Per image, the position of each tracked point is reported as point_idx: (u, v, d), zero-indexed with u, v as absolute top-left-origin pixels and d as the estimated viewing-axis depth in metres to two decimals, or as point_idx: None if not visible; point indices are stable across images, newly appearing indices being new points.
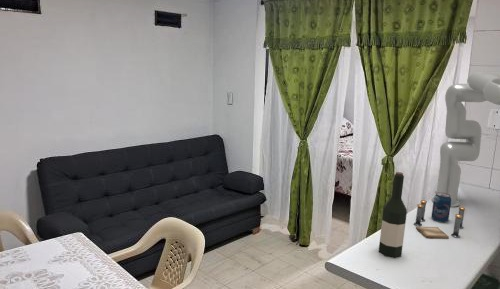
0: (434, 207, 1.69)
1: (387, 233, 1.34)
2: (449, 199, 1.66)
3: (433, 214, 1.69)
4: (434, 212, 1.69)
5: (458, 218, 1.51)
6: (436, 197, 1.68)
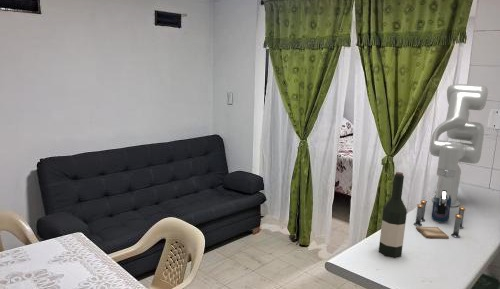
0: (434, 207, 1.69)
1: (387, 233, 1.34)
2: (449, 199, 1.66)
3: (433, 214, 1.69)
4: (434, 212, 1.69)
5: (458, 218, 1.51)
6: None
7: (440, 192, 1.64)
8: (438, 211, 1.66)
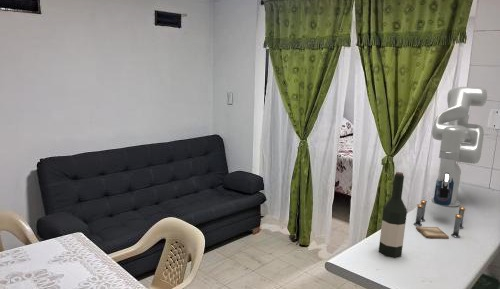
0: (436, 191, 1.67)
1: (387, 233, 1.34)
2: (451, 182, 1.64)
3: (435, 198, 1.67)
4: (436, 196, 1.67)
5: (458, 218, 1.51)
6: (438, 180, 1.66)
7: (442, 175, 1.62)
8: (440, 194, 1.64)
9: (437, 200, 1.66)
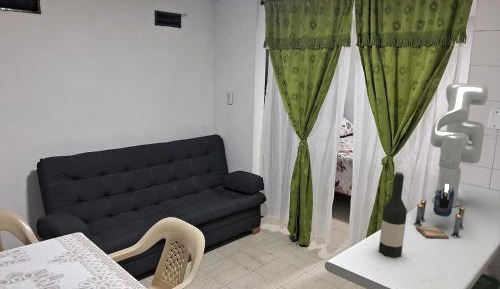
0: (436, 201, 1.60)
1: (387, 233, 1.34)
2: (452, 192, 1.57)
3: (435, 208, 1.60)
4: (436, 206, 1.60)
5: (458, 218, 1.51)
6: None
7: (442, 185, 1.55)
8: (440, 205, 1.57)
9: (437, 210, 1.60)
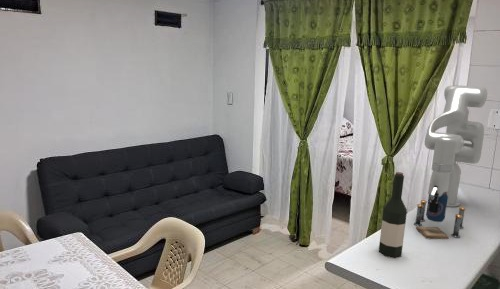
0: (428, 204, 1.55)
1: (387, 233, 1.34)
2: (443, 197, 1.50)
3: (426, 212, 1.55)
4: (427, 210, 1.55)
5: (458, 218, 1.51)
6: None
7: (431, 188, 1.50)
8: (430, 209, 1.52)
9: (428, 215, 1.54)
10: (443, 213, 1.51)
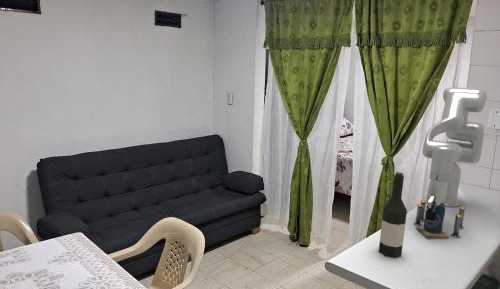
0: (425, 216, 1.55)
1: (387, 233, 1.34)
2: (441, 209, 1.50)
3: (424, 223, 1.56)
4: (425, 221, 1.55)
5: (458, 218, 1.51)
6: None
7: (429, 197, 1.50)
8: (427, 217, 1.51)
9: (425, 226, 1.55)
10: (440, 225, 1.52)
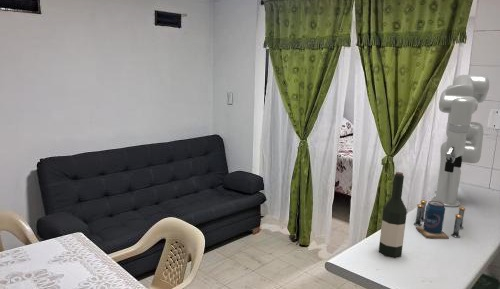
0: (425, 216, 1.55)
1: (387, 233, 1.34)
2: (440, 209, 1.50)
3: (424, 223, 1.56)
4: (425, 221, 1.55)
5: (458, 218, 1.51)
6: (427, 205, 1.54)
7: (447, 149, 1.53)
8: (445, 169, 1.54)
9: (425, 226, 1.55)
10: (440, 225, 1.52)
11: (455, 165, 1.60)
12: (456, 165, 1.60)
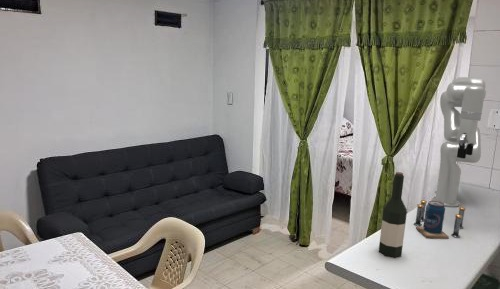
0: (425, 216, 1.55)
1: (387, 233, 1.34)
2: (440, 209, 1.50)
3: (424, 223, 1.56)
4: (425, 221, 1.55)
5: (458, 218, 1.51)
6: (427, 205, 1.54)
7: (460, 135, 1.57)
8: (458, 155, 1.58)
9: (425, 226, 1.55)
10: (440, 225, 1.52)
11: (466, 153, 1.65)
12: (467, 153, 1.65)
